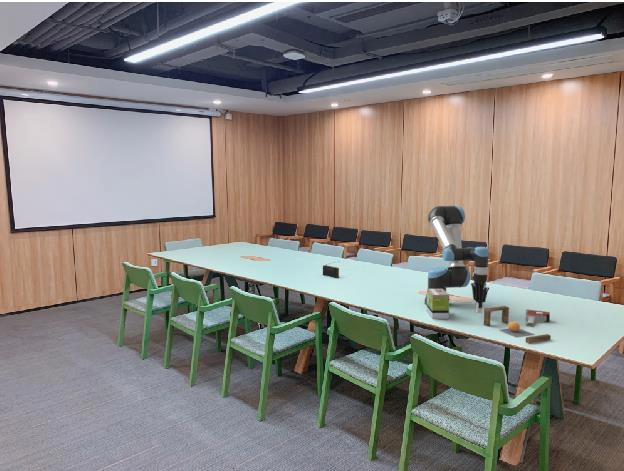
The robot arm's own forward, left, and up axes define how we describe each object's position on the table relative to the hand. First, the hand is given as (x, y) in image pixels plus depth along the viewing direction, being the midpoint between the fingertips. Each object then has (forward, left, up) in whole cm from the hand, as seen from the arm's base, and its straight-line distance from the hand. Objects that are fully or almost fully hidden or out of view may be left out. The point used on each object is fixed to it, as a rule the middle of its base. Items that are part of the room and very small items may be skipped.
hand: (478, 312), depth 262 cm
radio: (-134, -39, -3) cm, 139 cm away
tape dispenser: (+18, +23, -3) cm, 30 cm away
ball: (+28, -1, 0) cm, 28 cm away
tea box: (-11, -21, -3) cm, 24 cm away
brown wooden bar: (+43, 0, -2) cm, 43 cm away
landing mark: (+29, 0, -2) cm, 29 cm away
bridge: (+14, 0, -2) cm, 15 cm away
